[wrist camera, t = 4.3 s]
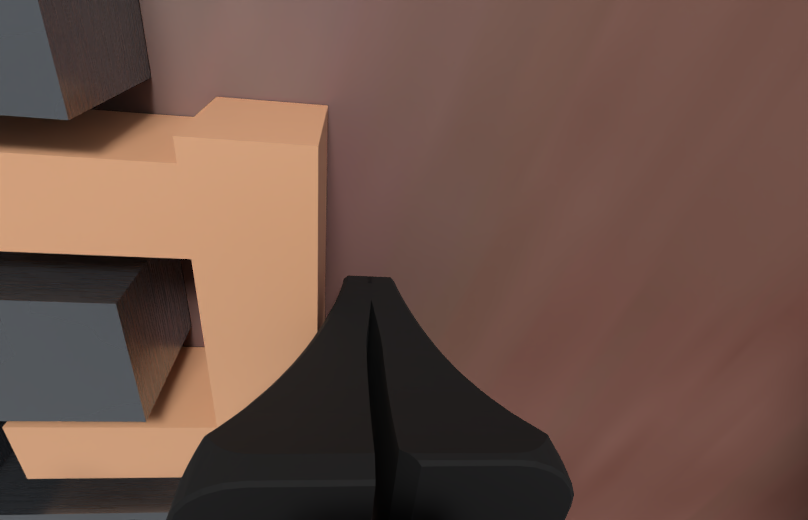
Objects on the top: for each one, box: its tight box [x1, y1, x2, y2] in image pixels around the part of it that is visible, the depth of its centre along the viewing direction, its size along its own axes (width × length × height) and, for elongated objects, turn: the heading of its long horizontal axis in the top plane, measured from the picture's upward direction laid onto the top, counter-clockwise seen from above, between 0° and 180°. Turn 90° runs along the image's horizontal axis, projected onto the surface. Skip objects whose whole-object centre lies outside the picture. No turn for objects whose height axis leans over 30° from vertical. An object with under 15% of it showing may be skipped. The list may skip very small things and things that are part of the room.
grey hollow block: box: [0, 0, 191, 520], centre depth 11 cm, size 6×20×4 cm, turn 174°
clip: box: [0, 97, 328, 479], centre depth 12 cm, size 8×10×3 cm
